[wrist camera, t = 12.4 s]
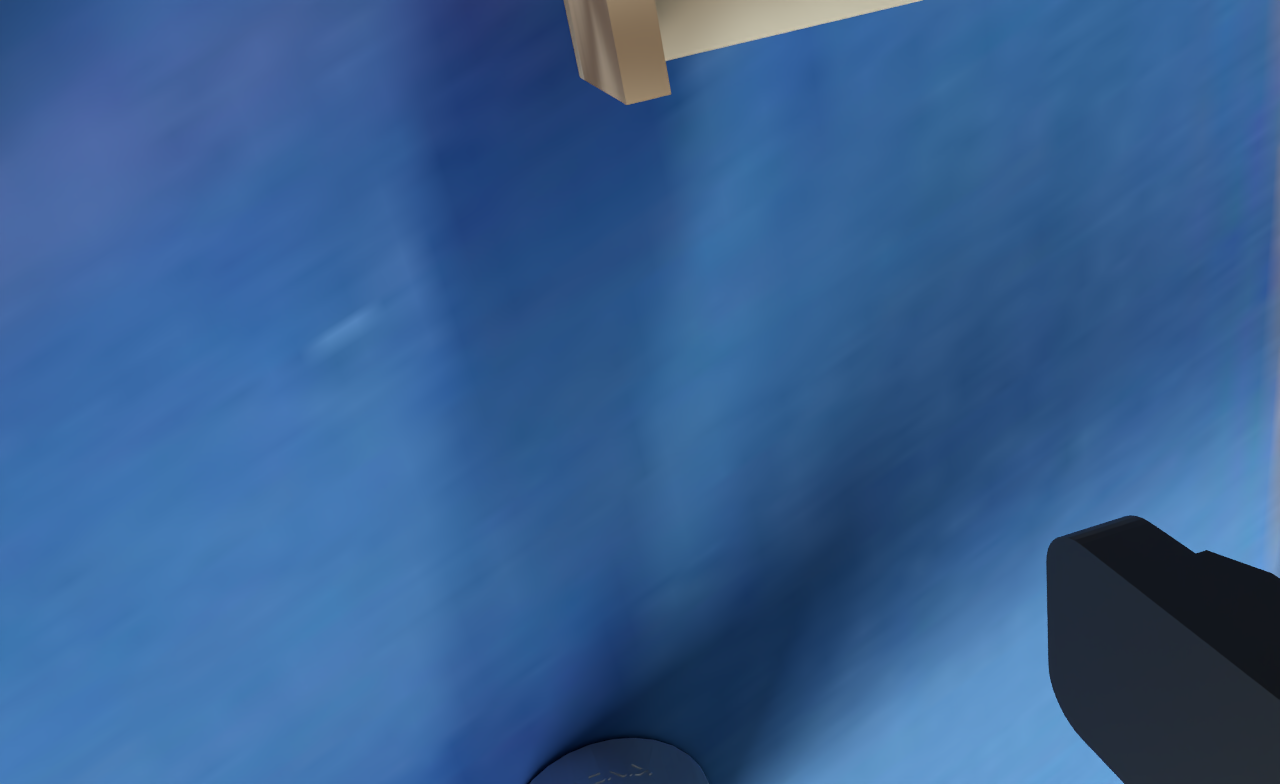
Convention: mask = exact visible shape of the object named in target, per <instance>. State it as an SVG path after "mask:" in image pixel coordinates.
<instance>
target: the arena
mask: <svg viewBox="0 0 1280 784" xmlns="http://www.w3.org/2000/svg"><path fill="white" fill-rule="evenodd" d="M917 1H921V0H564V4H565V9H566V13H567V18H568V23H569V28H570V32H571V37H572V42H573V47H574V51H575V56H576V61H577V66H578V70H579V75H580V78H582V79H584V80H585V81H587V82H589V83H590V84H592V85H594V86H596V87H597V88H599V89H601V90H602V91H604V92H606V93H607V94H609V95H611V96H612V97H614V98H616V99H617V100H619V101H621V102H623V103H624V104H626V105H629V104H633V103H637V102H641V101H645V100H649V99H654V98H658V97H662V96H666V95H670V94H671V91H670V85H669V79H668V73H667V68H666V62H665V61H667V60H671V59H676V58H680V57H684V56H688V55H693V54H697V53H701V52H705V51H709V50H714V49H718V48H722V47H726V46H731V45H735V44H739V43H743V42H748V41H752V40H756V39H760V38H765V37H769V36H773V35H777V34H782V33H786V32H790V31H794V30H798V29H803V28H807V27H811V26H815V25H820V24H824V23H828V22H832V21H837V20H841V19H845V18H849V17H854V16H858V15H862V14H866V13H870V12H875V11H879V10H883V9H887V8H892V7H896V6H900V5H904V4H909V3H913V2H917Z"/></svg>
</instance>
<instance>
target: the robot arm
mask: <svg viewBox="0 0 1280 784" xmlns="http://www.w3.org/2000/svg"><path fill="white" fill-rule="evenodd" d="M1046 566H1047V614H1048V662H1049V674H1050V679H1051V683H1052V687H1053V690H1054V693H1055V696H1056V698H1057V701H1058V703H1059V705H1060V707H1061V709H1062V711H1063V713H1064V715H1065V717H1066V718H1067V720H1068V721H1069V723H1070V725H1071V726H1072V727H1073V729H1074V730H1075V731H1076V733H1077V734H1078V735H1079V736H1080V737H1081V738H1082V739H1083V740H1084V742H1085V743H1086V744H1087V745H1088V746H1089V747H1090V748H1091V749H1092V750H1093V751H1094V752H1095V753H1096V754H1097V755H1098V756H1099V757H1100V758H1101V759H1102V761H1103V762H1104V763H1105V764H1106V765H1107V766H1108V767H1109V768H1110V769H1111V770H1112V771H1113V772H1114V773H1115V774H1116V775H1117V776H1118V777H1119V778H1120V780H1121V781H1122V782H1123V783H1124V784H1280V578H1278V577H1277V576H1275V575H1274V574H1272V573H1269V572H1267V571H1264V570H1261V569H1258V568H1255V567H1252V566H1250V565H1247V564H1244V563H1241V562H1238V561H1236V560H1233V559H1230V558H1227V557H1224V556H1221V555H1219V554H1216V553H1213V552H1210V551H1207V550H1206V551H1203V552H1200V553H1197V554H1196V553H1194V552H1193V551H1191V550H1190V549H1188V548H1187V547H1185V546H1184V545H1182V544H1181V543H1179V542H1178V541H1176V540H1175V539H1174V538H1172V537H1171V536H1169V535H1168V534H1166V533H1165V532H1163V531H1162V530H1160V529H1159V528H1157V527H1156V526H1155V525H1153V524H1152V523H1150V522H1148V521H1147V520H1145V519H1143V518H1140V517H1138V516H1131V515H1130V516H1125V517H1122V518H1118V519H1115V520H1112V521H1109V522H1106V523H1103V524H1099V525H1096V526H1093V527H1090V528H1087V529H1084V530H1080V531H1077V532H1074V533H1071V534H1068V535H1064V536H1061V537H1058V538H1056V539H1055V540H1053V541H1052V543H1051V544H1050V546H1049V548H1048V552H1047V561H1046ZM530 784H709V782H708V780H707V778H706V776H705V774H704V772H703V770H702V769H701V767H700V766H699V765H698V764H697V763H696V762H695V761H694V760H693V759H692V758H691V757H690V756H689V755H688V754H686V753H685V752H683V751H681V750H680V749H678V748H676V747H675V746H672V745H669V744H666V743H663V742H660V741H657V740H651V739H641V738H623V739H611V740H607V741H603V742H599V743H594V744H590V745H588V746H585V747H583V748H580V749H578V750H576V751H573V752H571V753H568V754H567V755H565V756H563V757H562V758H560V759H559V760H557V761H555V762H554V763H552V764H551V765H549V766H548V767H547V768H545V769H544V770H543V771H542V772H541V773H540V774H539V775H538V776H536V777H535V778H534V779H533V780H532V781H531V782H530Z"/></svg>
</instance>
